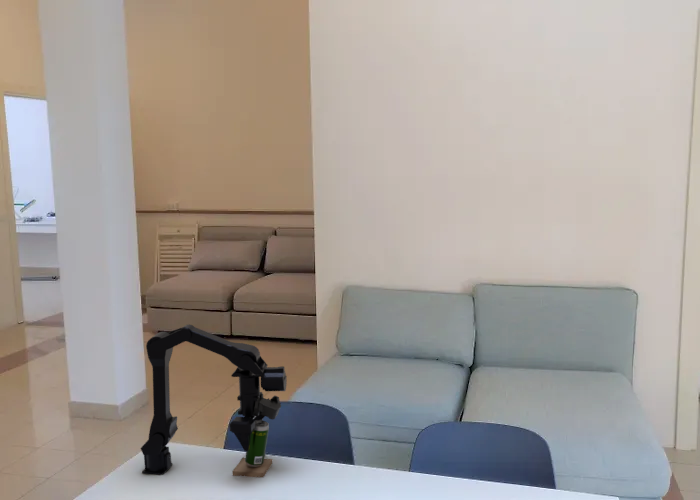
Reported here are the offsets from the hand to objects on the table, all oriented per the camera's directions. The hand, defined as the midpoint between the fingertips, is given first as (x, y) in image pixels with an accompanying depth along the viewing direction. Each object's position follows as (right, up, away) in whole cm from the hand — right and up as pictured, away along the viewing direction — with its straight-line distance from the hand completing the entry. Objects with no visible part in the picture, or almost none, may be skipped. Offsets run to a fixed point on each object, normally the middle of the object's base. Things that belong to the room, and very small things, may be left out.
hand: (251, 444), depth 183 cm
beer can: (0, -6, +1) cm, 6 cm away
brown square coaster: (0, -8, +1) cm, 8 cm away
